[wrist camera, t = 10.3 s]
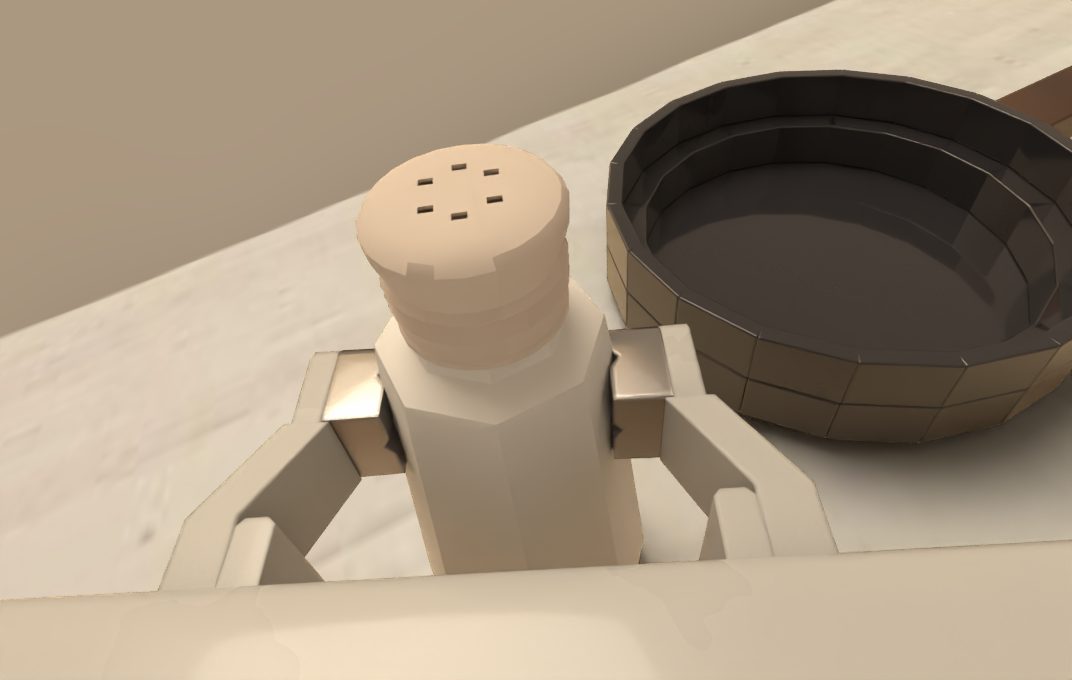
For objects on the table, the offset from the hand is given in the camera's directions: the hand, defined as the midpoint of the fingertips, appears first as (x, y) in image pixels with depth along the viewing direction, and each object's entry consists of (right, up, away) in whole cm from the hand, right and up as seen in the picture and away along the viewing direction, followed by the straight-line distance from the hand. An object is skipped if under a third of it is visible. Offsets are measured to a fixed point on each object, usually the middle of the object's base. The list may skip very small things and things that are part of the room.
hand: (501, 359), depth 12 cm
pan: (+11, +3, +11) cm, 16 cm away
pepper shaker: (+1, -5, +4) cm, 7 cm away
